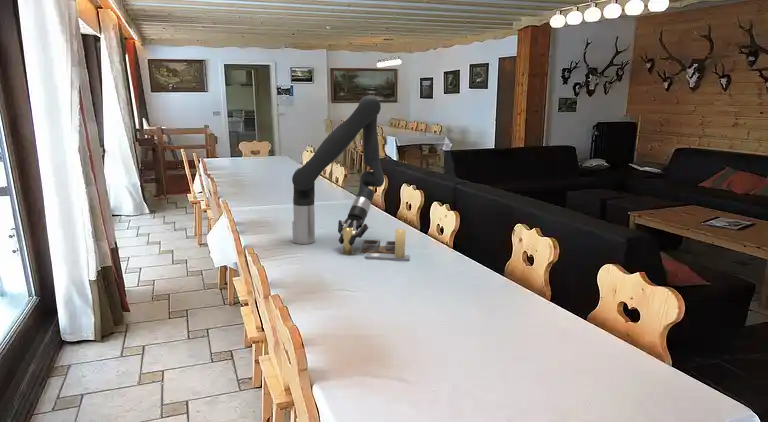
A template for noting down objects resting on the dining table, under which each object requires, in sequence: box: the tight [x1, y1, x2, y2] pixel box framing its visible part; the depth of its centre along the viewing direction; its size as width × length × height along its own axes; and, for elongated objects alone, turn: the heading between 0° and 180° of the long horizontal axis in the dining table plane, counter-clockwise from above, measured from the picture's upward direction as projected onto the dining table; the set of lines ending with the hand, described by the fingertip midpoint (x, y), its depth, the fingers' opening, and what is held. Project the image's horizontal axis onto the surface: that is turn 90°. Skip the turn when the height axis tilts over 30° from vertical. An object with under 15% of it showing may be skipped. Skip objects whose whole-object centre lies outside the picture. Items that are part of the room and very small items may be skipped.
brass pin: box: [342, 226, 354, 256], centre depth 210 cm, size 4×4×11 cm
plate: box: [364, 228, 411, 262], centre depth 205 cm, size 18×5×12 cm, turn 84°
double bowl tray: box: [359, 239, 395, 254], centre depth 215 cm, size 18×8×4 cm, turn 84°
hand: (345, 243), depth 208 cm, fingers closed on brass pin, 4 cm apart
